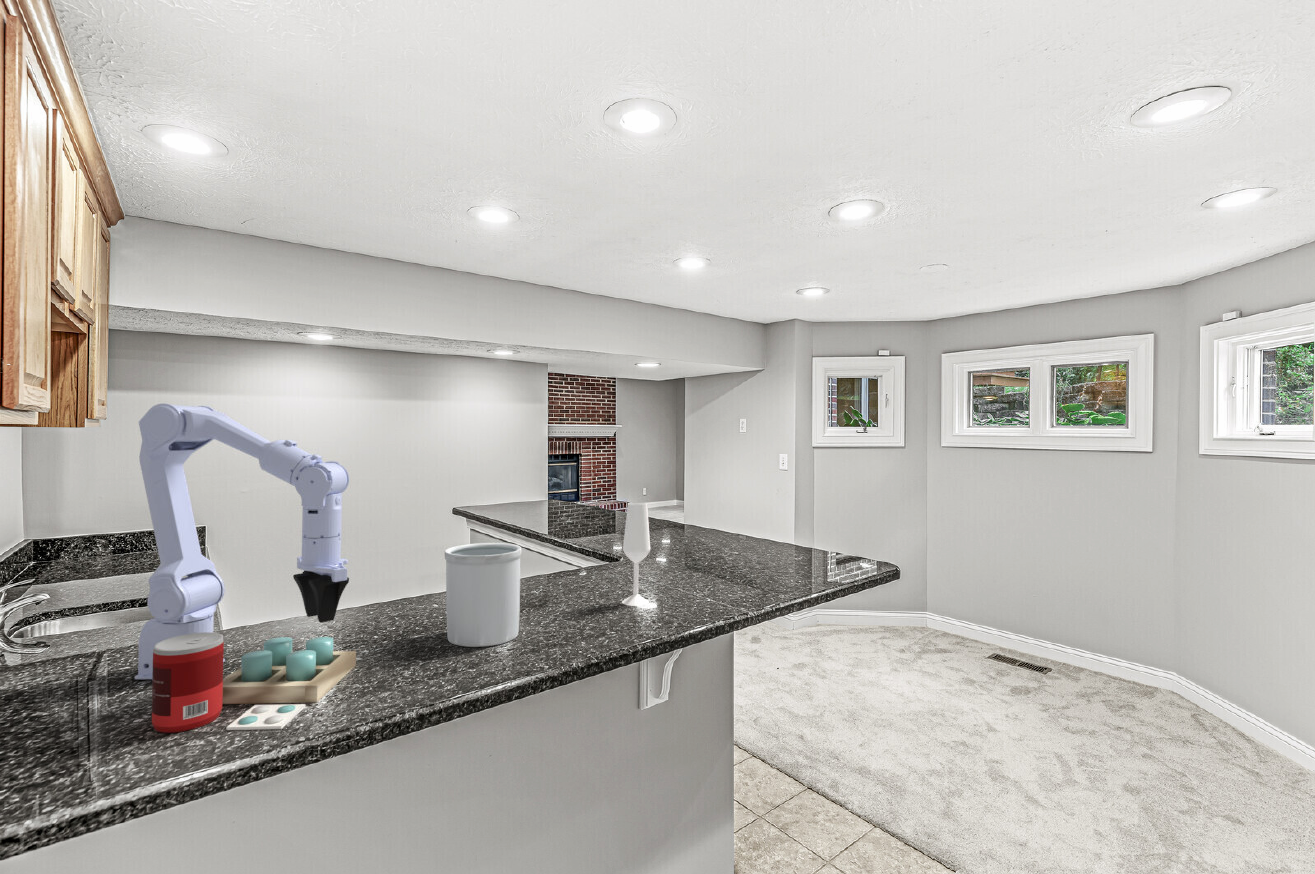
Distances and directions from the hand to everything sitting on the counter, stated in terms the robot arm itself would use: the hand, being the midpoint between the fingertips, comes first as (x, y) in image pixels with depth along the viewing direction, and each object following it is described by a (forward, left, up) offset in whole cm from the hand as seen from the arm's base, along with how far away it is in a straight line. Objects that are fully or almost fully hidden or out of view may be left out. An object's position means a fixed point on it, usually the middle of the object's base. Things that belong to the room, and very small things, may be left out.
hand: (320, 618), depth 104 cm
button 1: (-7, -7, -7) cm, 12 cm away
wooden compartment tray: (-3, -3, -9) cm, 10 cm away
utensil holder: (+23, +20, -10) cm, 32 cm away
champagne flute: (+55, +45, -10) cm, 71 cm away
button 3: (0, -7, -7) cm, 10 cm away
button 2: (-6, 0, -7) cm, 10 cm away
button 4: (0, 0, -7) cm, 7 cm away
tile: (0, -16, -9) cm, 18 cm away
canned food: (-11, -16, -10) cm, 21 cm away
